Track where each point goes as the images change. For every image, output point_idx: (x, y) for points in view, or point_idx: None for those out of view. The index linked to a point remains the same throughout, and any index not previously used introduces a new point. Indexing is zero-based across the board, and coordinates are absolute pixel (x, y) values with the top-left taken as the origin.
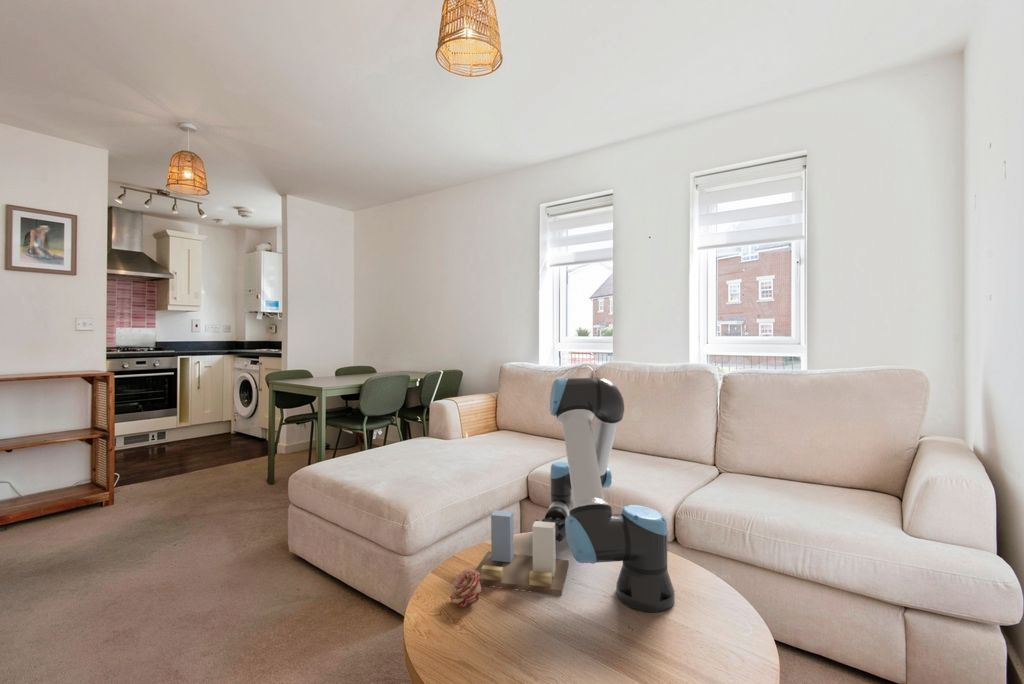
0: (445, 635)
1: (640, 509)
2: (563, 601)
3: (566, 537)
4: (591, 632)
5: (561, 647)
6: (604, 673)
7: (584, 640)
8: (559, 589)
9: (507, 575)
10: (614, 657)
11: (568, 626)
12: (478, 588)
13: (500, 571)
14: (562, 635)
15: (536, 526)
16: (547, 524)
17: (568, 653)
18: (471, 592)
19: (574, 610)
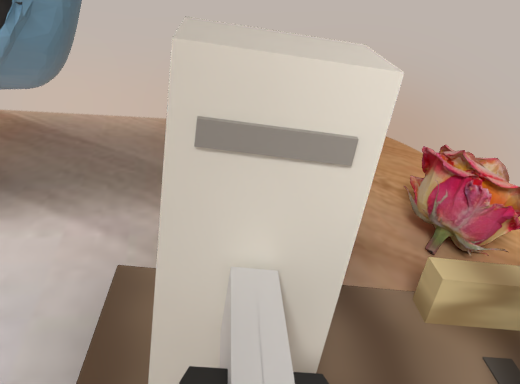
0: (399, 171)
1: None
2: (110, 260)
3: (79, 7)
4: (37, 169)
5: (132, 146)
6: (45, 113)
7: (67, 155)
8: (126, 269)
9: (419, 339)
10: (4, 129)
11: (106, 182)
12: (423, 185)
13: (432, 261)
14: (127, 165)
15: (332, 40)
16: (249, 37)
17: (116, 138)
18: (425, 171)
19: (71, 226)
